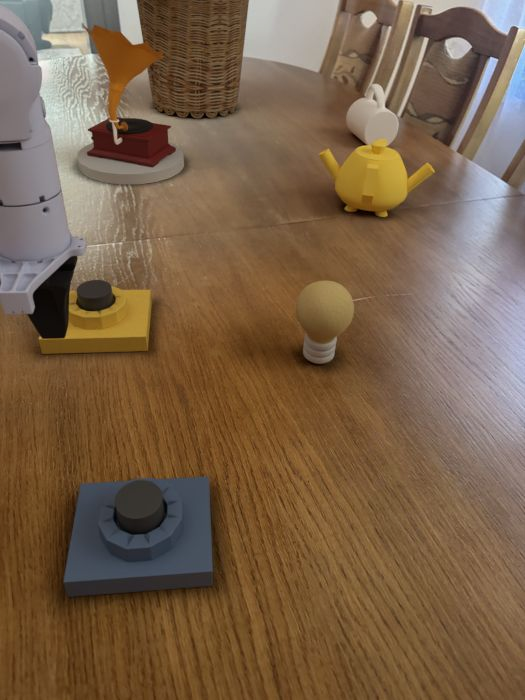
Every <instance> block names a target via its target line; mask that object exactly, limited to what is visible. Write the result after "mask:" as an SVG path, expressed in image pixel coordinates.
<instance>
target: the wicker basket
mask: <svg viewBox="0 0 525 700" xmlns="http://www.w3.org/2000/svg"><path fill="white" fill-rule="evenodd" d="M249 4H250V0H136V6H137V12H138V18H139V25H140V31H141V36H142V37H141V38H142V43H147V42H148V44H149V45H150V47H151V48H152V50H153V51H154V52H164V54H163V55H162V56H163V58H161V59H158V60H156V61H155V62H154V63H152V64H151V65H150V66H149V67H148V68H146V71H147V75H148V81H149V86H150V87H149V88H150V93H151V99H152V104H153V108H155V109H156V110H157V112H159V113H162V112H164V113H165V114H166V115H167V116H173V115H174V114H176V115H177V116H178V117H179V118H181V119H184V118H187V117H188V116H189V114H190V116H191V118H194V119H195V120H198V119H201V118H203V116H204V115H205V116H206V117H207V118H208V119H214V118H216V117H217V116H218V114H219V115H220V116H221V117H225V116H227V114H228V113H230V114H233V113H234V112H235V110H237V108H238V101H239V92H240V84H241V75H242V67H243V58H244V57H243V56H244V50H245V49H244V48H245V40H246V32H247V31H246V30H247V22H248V21H247V20H248V14H249V13H248V10H249Z"/></svg>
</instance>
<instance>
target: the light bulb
mask: <svg viewBox="0 0 525 700" xmlns="http://www.w3.org/2000/svg"><path fill="white" fill-rule="evenodd" d="M295 306H296V307H295V314H296V318H297V320H298V323H299V325H300V326H301V329H303V330H304V332H305V334H304V337H303V338H304V339H303V347H302V355H303V356H304V358H305V359H306V360H307V361H309V362H311V363H313V364H317V365H322V364H326V363H330V362H331V361H332V360H333V359H334V357H335V353H336V352H335V351H336V348H337V343H338V342H337V341H338V336H340V335H341V334H342V333H343V332H345V331H346V330H347V329H348V327H349V326H350V324H351V323H352V321H353V318H354V314H355V304H354V299H353V297H352V295H351V294H350V292H349V290H347V289H346V287H344V286H343V284H340V282H339V283H338V282H337V281H334V280H318V281H314V282H312V283H310V284H308V285H306V286H305V287H304V288H302V290H301V291H300V293H299V295H298V297H297V301H296V304H295Z"/></svg>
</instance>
